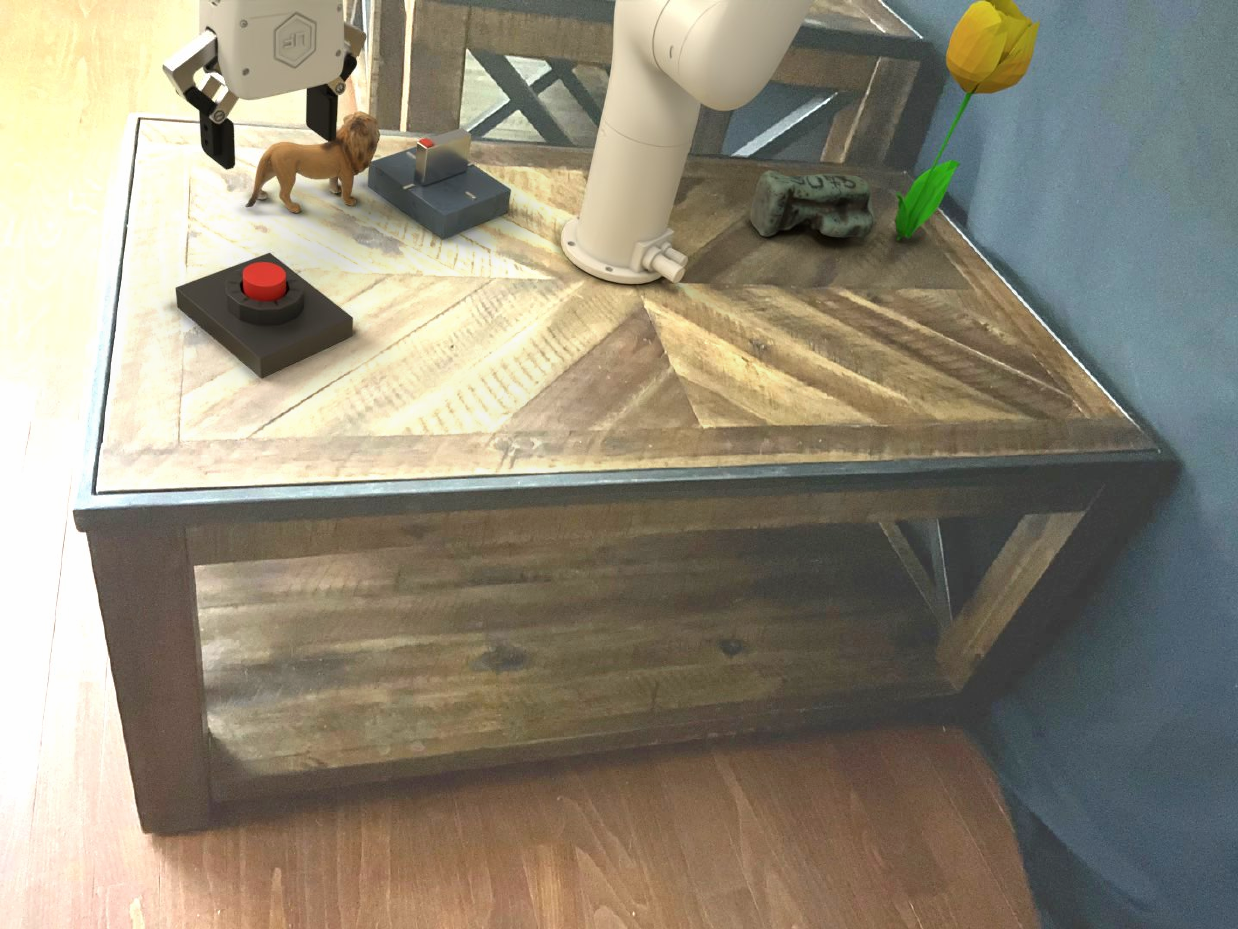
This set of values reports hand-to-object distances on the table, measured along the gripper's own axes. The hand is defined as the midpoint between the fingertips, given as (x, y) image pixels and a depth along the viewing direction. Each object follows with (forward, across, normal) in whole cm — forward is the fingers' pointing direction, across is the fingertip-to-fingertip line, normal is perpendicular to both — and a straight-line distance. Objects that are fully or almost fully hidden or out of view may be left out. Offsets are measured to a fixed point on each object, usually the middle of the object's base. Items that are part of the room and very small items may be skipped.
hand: (272, 146), depth 83 cm
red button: (+13, -1, -1) cm, 13 cm away
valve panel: (+16, +27, +7) cm, 32 cm away
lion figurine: (+17, +15, +14) cm, 27 cm away
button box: (+17, -1, -1) cm, 17 cm away
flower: (+16, +72, -30) cm, 80 cm away
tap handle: (+13, +27, +7) cm, 30 cm away
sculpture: (+16, +62, -21) cm, 67 cm away
